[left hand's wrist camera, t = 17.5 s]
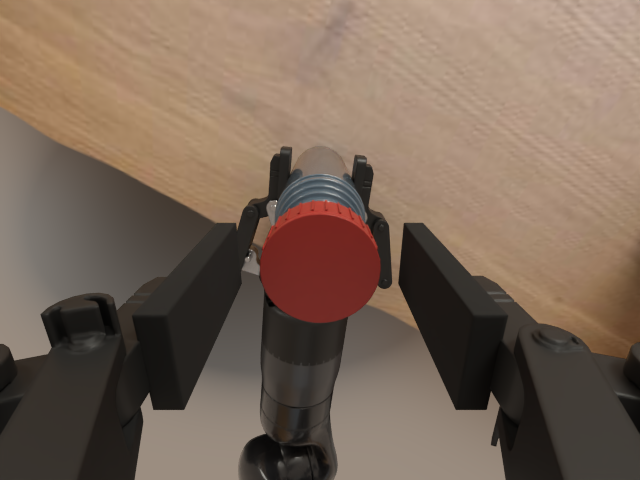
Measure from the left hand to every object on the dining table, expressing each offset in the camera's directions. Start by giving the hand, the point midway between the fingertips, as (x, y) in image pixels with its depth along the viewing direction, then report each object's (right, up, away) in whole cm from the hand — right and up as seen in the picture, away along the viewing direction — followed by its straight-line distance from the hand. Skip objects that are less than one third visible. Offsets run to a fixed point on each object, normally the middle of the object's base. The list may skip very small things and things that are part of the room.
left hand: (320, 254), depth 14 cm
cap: (0, 0, -1) cm, 1 cm away
